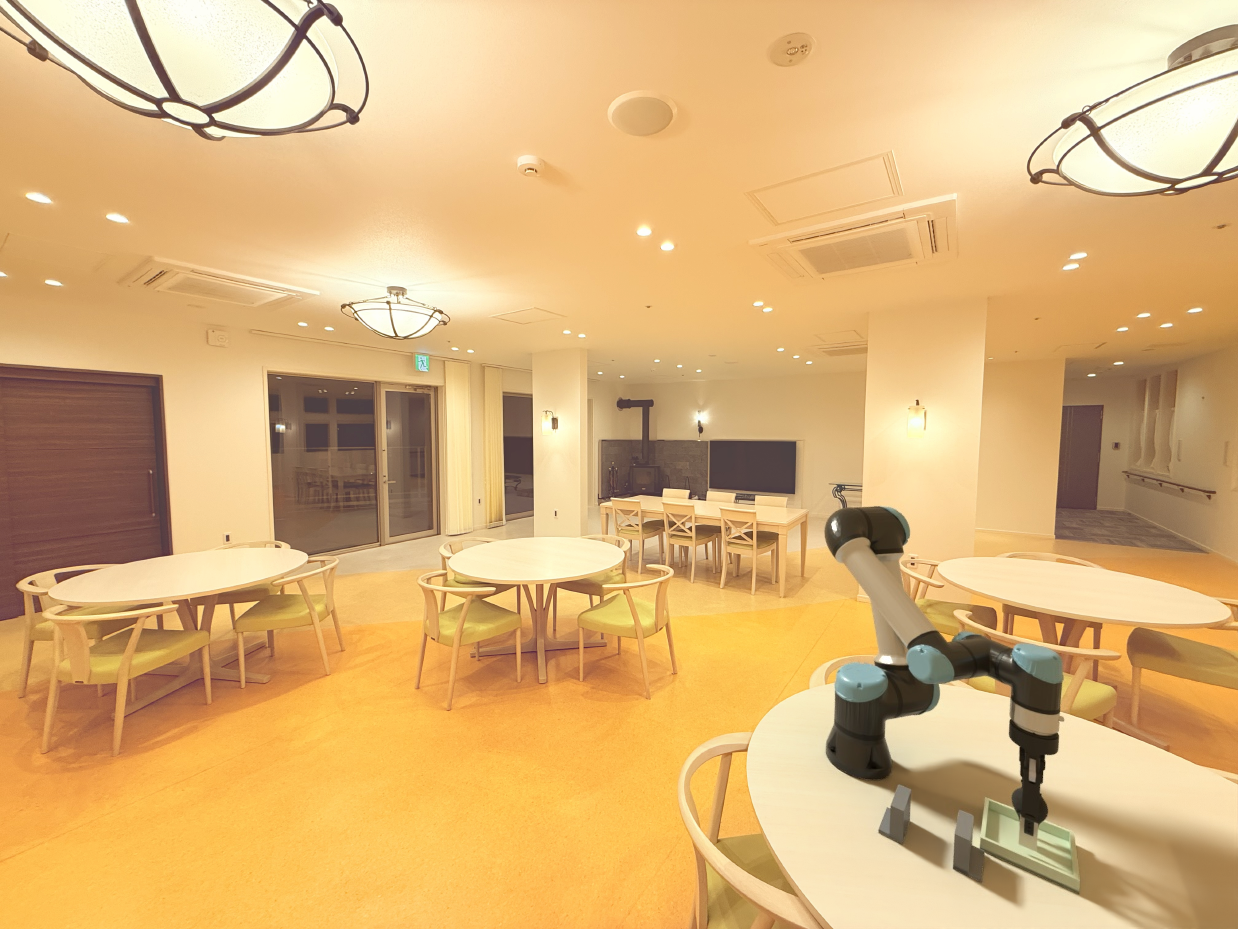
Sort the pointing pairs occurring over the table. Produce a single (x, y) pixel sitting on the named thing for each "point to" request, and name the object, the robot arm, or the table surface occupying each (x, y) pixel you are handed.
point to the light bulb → (1018, 805)
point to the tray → (1049, 860)
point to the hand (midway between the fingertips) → (1027, 836)
